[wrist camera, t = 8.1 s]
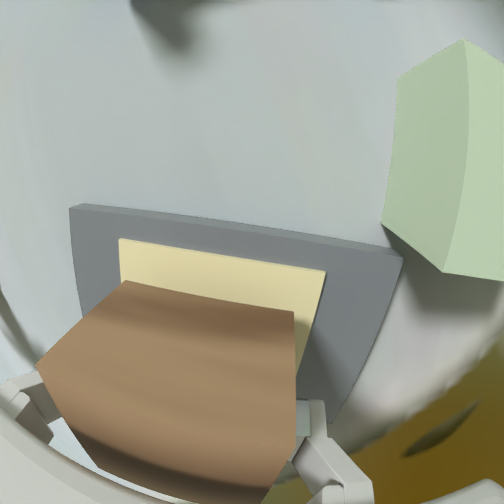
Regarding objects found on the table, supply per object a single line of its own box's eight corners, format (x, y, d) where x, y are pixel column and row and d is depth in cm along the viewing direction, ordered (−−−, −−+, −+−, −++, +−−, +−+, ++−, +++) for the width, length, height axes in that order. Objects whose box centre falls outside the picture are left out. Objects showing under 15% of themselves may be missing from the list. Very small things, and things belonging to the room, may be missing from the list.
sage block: (395, 78, 8) (463, 38, 3) (497, 125, 7) (570, 126, 3) (379, 222, 10) (442, 272, 5) (480, 244, 9) (547, 288, 5)
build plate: (82, 203, 11) (66, 208, 10) (395, 249, 10) (406, 259, 9) (105, 363, 14) (96, 375, 13) (330, 410, 13) (331, 425, 12)
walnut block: (125, 279, 9) (35, 364, 4) (293, 311, 9) (295, 446, 4) (141, 388, 11) (98, 467, 6) (265, 417, 11) (253, 512, 6)
